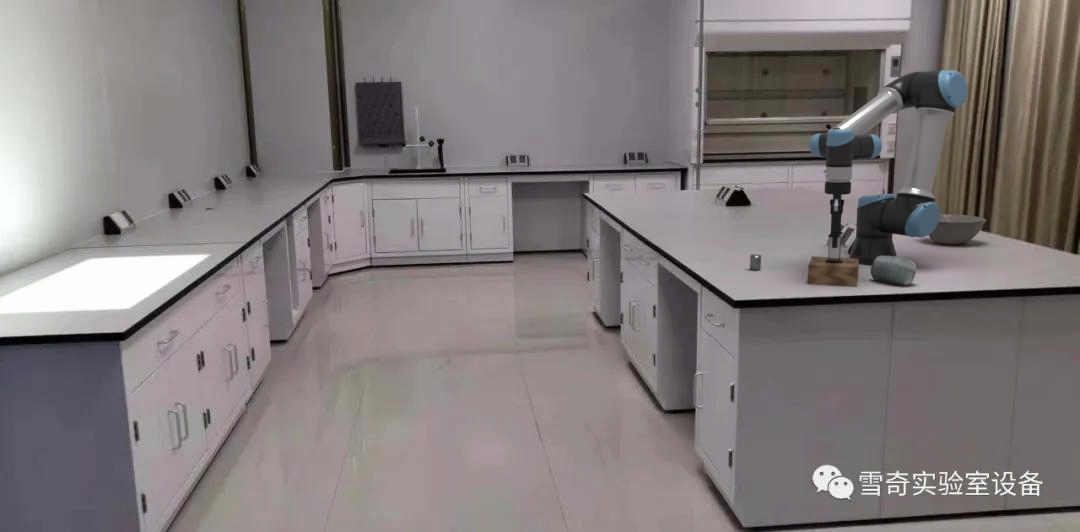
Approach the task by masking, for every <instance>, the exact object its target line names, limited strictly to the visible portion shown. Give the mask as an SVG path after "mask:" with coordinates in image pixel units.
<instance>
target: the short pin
mask: <svg viewBox="0 0 1080 532" xmlns="http://www.w3.org/2000/svg"><path fill="white" fill-rule="evenodd" d="M749 270H750V271H751V272H760V271H762V254H757V253H753V254H750V255H749Z"/></svg>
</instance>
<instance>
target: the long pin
mask: <svg viewBox="0 0 1080 532" xmlns="http://www.w3.org/2000/svg"><path fill="white" fill-rule="evenodd" d="M828 235H830V233H829V234H828ZM839 237H840V245H839V258H829V255H830V237H828V255H827V257H828V263H840V258H841V249H842V247H841V246H842V234H840V236H839Z"/></svg>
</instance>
